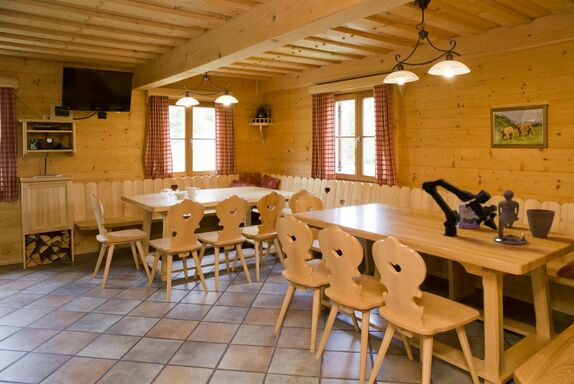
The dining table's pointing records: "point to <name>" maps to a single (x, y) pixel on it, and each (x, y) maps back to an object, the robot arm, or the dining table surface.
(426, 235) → the dining table surface
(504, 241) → the post base
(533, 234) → the plant pot
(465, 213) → the candy box
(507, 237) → the crank handle
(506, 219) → the clay figurine
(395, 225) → the dining table surface
